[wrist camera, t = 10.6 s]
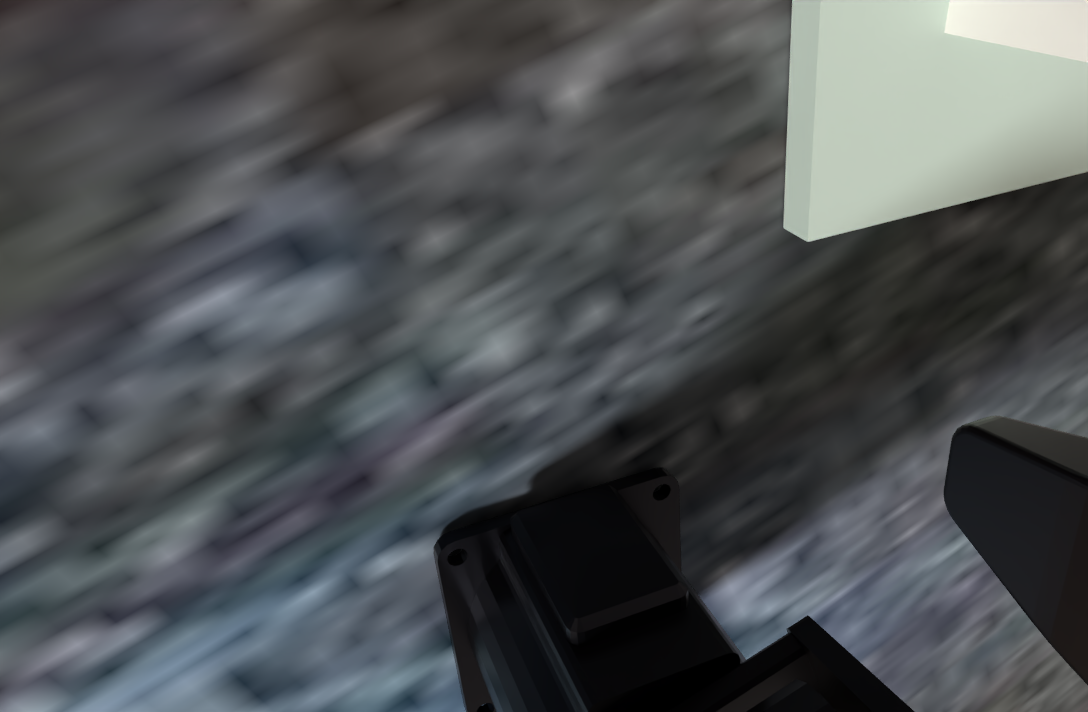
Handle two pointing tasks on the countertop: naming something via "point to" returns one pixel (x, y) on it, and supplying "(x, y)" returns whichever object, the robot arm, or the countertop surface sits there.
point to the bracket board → (917, 115)
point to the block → (1024, 24)
